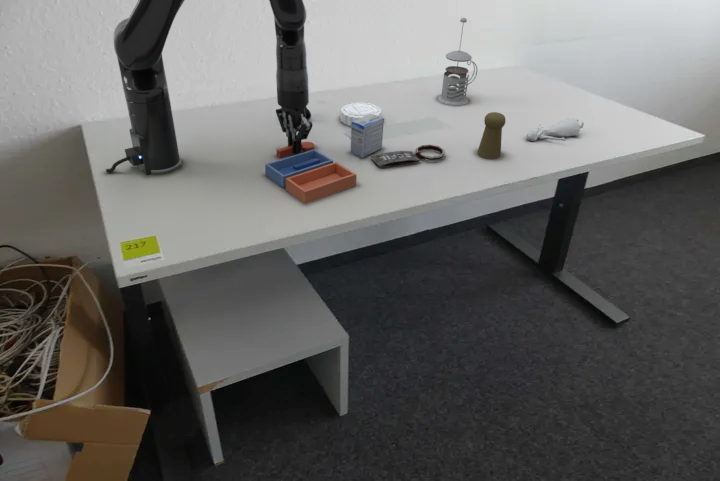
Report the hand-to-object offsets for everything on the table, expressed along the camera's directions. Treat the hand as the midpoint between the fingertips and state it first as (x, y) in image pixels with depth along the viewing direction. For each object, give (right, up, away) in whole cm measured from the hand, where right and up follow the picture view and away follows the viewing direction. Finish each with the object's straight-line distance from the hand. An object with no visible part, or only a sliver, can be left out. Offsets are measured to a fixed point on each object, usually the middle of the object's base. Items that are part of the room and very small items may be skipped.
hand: (294, 151), depth 141 cm
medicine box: (+18, 0, +2) cm, 18 cm away
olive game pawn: (+50, 0, +3) cm, 50 cm away
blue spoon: (+2, -6, -10) cm, 12 cm away
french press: (+47, +22, +36) cm, 64 cm away
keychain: (+29, -2, -1) cm, 29 cm away
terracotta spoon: (0, 0, 0) cm, 1 cm away
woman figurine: (+71, +6, +14) cm, 72 cm away
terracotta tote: (+8, -11, -15) cm, 20 cm away
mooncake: (+17, +12, +19) cm, 28 cm away
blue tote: (+2, -7, -9) cm, 12 cm away
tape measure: (-1, +12, +19) cm, 23 cm away
